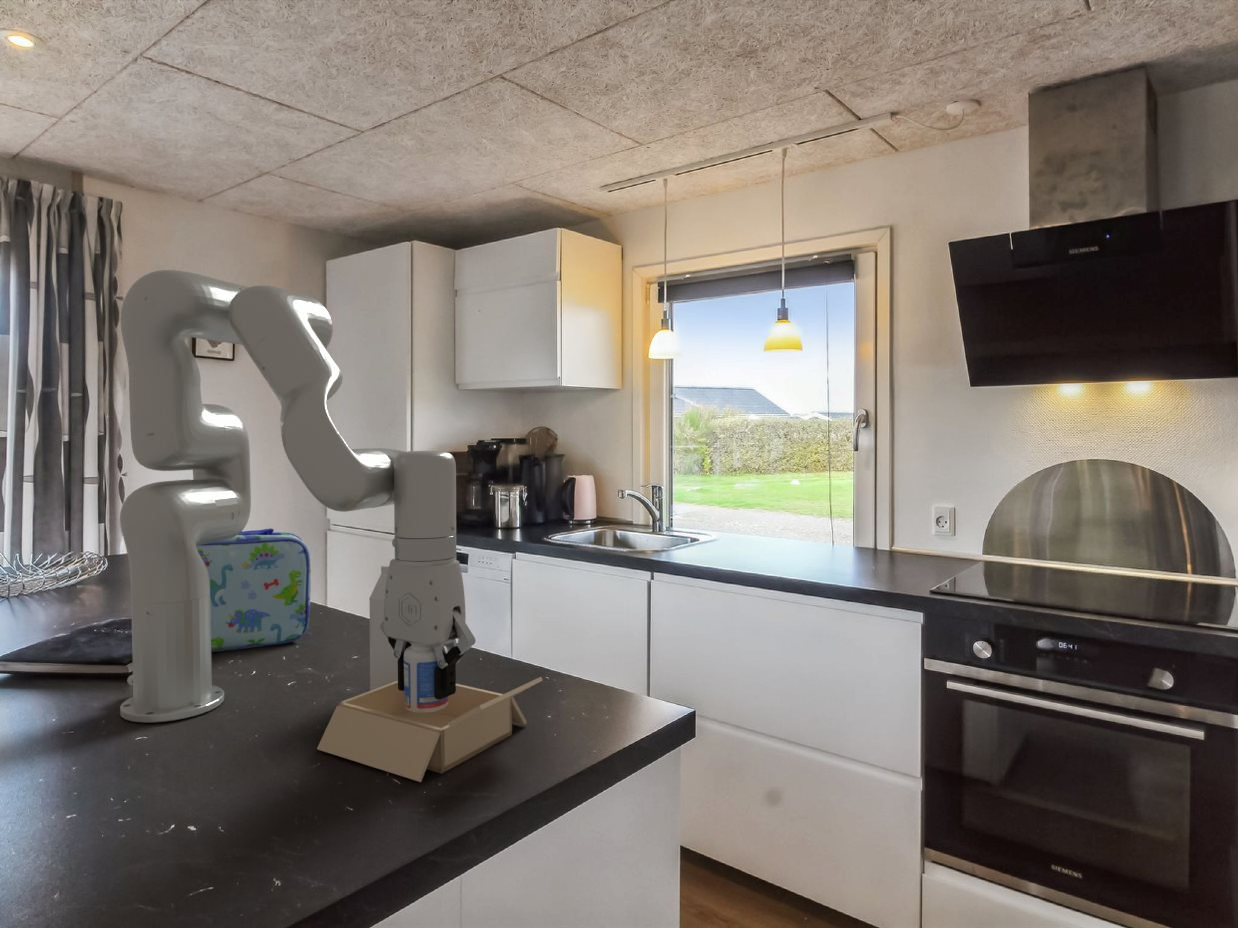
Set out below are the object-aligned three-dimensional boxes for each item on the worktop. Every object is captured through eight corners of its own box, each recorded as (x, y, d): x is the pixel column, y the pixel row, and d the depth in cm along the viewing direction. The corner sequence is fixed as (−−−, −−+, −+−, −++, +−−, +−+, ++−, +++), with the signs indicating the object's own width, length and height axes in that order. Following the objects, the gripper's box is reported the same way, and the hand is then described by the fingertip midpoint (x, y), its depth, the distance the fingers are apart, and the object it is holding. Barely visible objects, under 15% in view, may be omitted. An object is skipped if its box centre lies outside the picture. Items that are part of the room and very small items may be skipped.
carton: (296, 746, 95) (296, 706, 95) (414, 697, 112) (414, 663, 112) (419, 785, 85) (419, 741, 85) (528, 725, 102) (528, 688, 102)
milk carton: (415, 705, 109) (415, 572, 108) (369, 701, 111) (368, 570, 110) (437, 689, 116) (437, 564, 115) (393, 685, 117) (393, 562, 117)
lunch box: (306, 629, 149) (305, 522, 148) (315, 643, 140) (314, 528, 139) (149, 648, 136) (146, 530, 135) (147, 664, 127) (145, 538, 126)
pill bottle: (456, 701, 99) (456, 626, 99) (433, 716, 94) (433, 637, 94) (420, 696, 101) (419, 622, 100) (395, 710, 96) (394, 633, 95)
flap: (448, 722, 88) (479, 705, 86) (510, 692, 98) (540, 676, 96) (449, 726, 88) (481, 709, 85) (512, 696, 98) (542, 680, 95)
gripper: (354, 547, 98) (355, 688, 98) (457, 559, 89) (458, 714, 90) (398, 540, 104) (399, 672, 105) (498, 551, 96) (499, 695, 96)
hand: (426, 690), depth 97 cm, fingers closed on pill bottle, 5 cm apart
